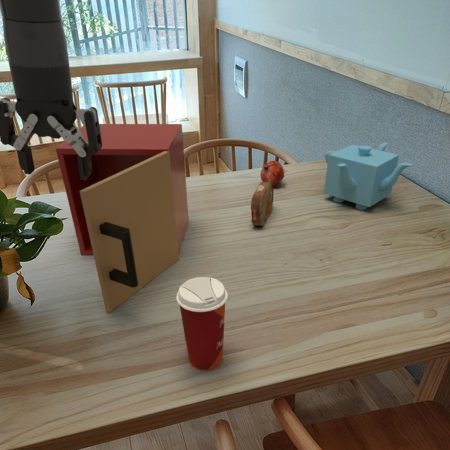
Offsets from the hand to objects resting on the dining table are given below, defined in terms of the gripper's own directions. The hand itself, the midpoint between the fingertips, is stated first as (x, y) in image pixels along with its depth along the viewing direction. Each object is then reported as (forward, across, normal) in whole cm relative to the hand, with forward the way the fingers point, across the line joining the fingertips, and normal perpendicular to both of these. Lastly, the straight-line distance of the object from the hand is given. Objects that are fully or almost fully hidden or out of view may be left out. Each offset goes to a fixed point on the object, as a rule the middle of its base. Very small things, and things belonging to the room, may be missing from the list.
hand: (57, 175), depth 69 cm
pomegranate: (+26, -38, -64) cm, 79 cm away
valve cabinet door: (+26, -14, -8) cm, 30 cm away
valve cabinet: (+28, -5, -29) cm, 40 cm away
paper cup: (+24, -26, +12) cm, 37 cm away
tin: (+25, -35, -41) cm, 59 cm away
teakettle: (+23, -62, -52) cm, 85 cm away
